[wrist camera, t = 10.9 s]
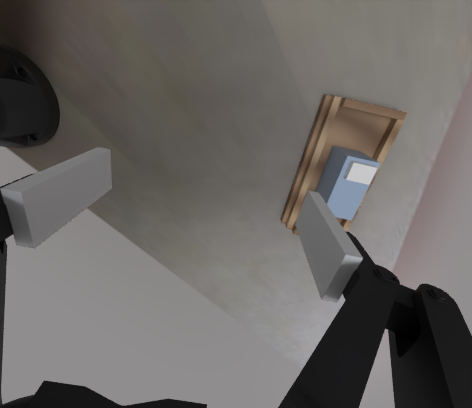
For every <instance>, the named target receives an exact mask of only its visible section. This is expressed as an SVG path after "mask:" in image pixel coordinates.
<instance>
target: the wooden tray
mask: <svg viewBox="0 0 472 408" xmlns="http://www.w3.org/2000/svg"><path fill="white" fill-rule="evenodd" d="M407 114H408V113H406V112H402V111H398V110H393V109H389V108H385V107H381V106H377V105H372V104H368V103H364V102H360V101H356V100H352V99H347V98H341V97H337V96H330V95H324V96H323V99H322V102H321V104H320V107H319V110H318V113H317V116H316V119H315V122H314V125H313V128H312V130H311V133H310V136H309V139H308V142H307V145H306V148H305V151H304V153H303V156H302V159H301V162H300V165H299V168H298V171H297V174H296V177H295V179H294V182H293V185H292V188H291V191H290V194H289V197H288V200H287V202H286V205H285V208H284V211H283V214H282V217H281V222H282V223H284V224H286V228H288V229H292V231H293V234H296V235H299V234H298V231H297V229H296V226H295V223H296V221H297V218H298V215H299V213H300V210H301V208H302V205H303V202H304V200H305V197H306V194H307V192H308V191H313V192H315V189H316V187H317V184H318V182H319V179H320V177H321V174H322V171H323V169H324V166H325V164H326V161H327V159H328V156H329V154H330V151H331V148H332V146H333V145H334V146H339V147H343V148H348V149H352V150H356V151H361V152H362V153H364V154H366V155H368V156H369V157H371V158H373V159H374V160H376V161H378V162H380V165H379V167H378V169H377V171H376V173H375V175H374V177H373V179H372V181H371V183H370V185H369V187H368V189H367V191H366V193H365V195H364V197H363V199H362V201H361V203H360V205H359V207H358V209H357V211H356V213H355V215H354V217H353V219H352V221H351V220H347V219H342V218H338V217H336V219H337V220H338V222H339V223H340V225H341V226H342V227H343V229H344V230H345V231H346V232H347V231H348V229H349V228H350V226H351V224H352V222H353V220H354V218H355V216H356V214H357V212H358V210H359V208H360V206H361V204H362V202H363V200H364V198H365V196H366V194H367V192H368V190H369V188H370V187H371V185H372V183H373V181H374V179H375V177H376V175H377V173H378V171H379V169H380V167H381V165H382V163H383V161H384V159H385V157H386V155H387V153H388V151H389V149H390V147H391V145H392V144H393V142H394V140H395V138H396V136H397V134H398V132H399V130H400V128H401V126H402V124H403V122H404V120H405V118H406V116H407Z"/></svg>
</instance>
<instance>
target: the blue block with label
mask: <svg viewBox="0 0 472 408" xmlns="http://www.w3.org/2000/svg"><path fill="white" fill-rule="evenodd" d="M379 165H380V162H378V161H376V160H374V159H373V158H371V157H369V156H368V155H366V154H364V153H362V152H361V151H356V150H352V149H348V148H343V147H339V146H334V145H333V146H332V148H331V151H330V154H329V156H328V159H327V161H326V164H325V166H324V169H323V171H322V174H321V177H320V179H319V182H318V184H317V187H316V189H315V192H318V193H320V195H321V196H322V198H323V199H324V201H325V202H326V204H327V205H328V207H329V208H330V210H331V211H332V213H333V214H334V216H335V217H338V218H342V219H347V220H351V221H352V219H353V217H354V215H355V213H356V211H357V209H358V207H359V205H360V203H361V201H362V199H363V197H364V195H365V193H366V191H367V189H368V187H369V185H370V183H371V181H372V179H373V177H374V175H375V173H376V171H377V169H378V167H379Z"/></svg>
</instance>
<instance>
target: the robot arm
mask: <svg viewBox="0 0 472 408" xmlns="http://www.w3.org/2000/svg"><path fill="white" fill-rule="evenodd" d="M58 122H59V109H58V103H57V100H56V97H55V94H54V91H53V89H52V87H51V85H50V83H49V82H48V80H47V79H46V77H45V76H44V74H43V73H42V72H41V71H40V69H39V68H38V67H37V66H36V65H35V64H34V63H33V62H32V61H31V60H30V59H28V58H27V57H26V56H24V55H23V54H22V53H20V52H18V51H17V50H15V49H13V48H10V47H8V46H5V45H1V44H0V146H3V147H14V148H26V147H31V146H35V145H39V144H42V143H45V142H46V141H48V140H49V139H50V138H51V137H52V136H53V135H54V133H55V131H56V129H57V126H58ZM111 189H112V176H111V155H110V149H105V148H101V147H97V148H95V149H92V150H90V151H87V152H85V153H83V154H80V155H78V156H76V157H73V158H71V159H69V160H66V161H64V162H61V163H59V164H57V165H54V166H52V167H50V168H47V169H45V170H42V171H40V172H38V173H35V174H31V175H28V176H25V177H23V178H21V179H20V180H19V179H18V180H16V181H13V182H12V183H8V184H6V185H4V186H1V187H0V408H207V404H200V403H194V402H187V401H180V400H173V399H164V400H158V401H152V402H145V403H139V404H134V405H127V406H121V405H119V404H117V403H115V402H113V401H111V400H109V399H107V398H105V397H103V396H102V395H100V394H98V393H96V392H94V391H93V390H91V389H89V388H87V387H84V386H78V385H71V384H63V383H57V382H51V381H44V382H43V383H42V385H41V386H40V387H39V389H38V391H37V392H36V393H35V395H31V396H27V397H23V398H19V399H16V400H13V401H11V402H8V403H5V404H2V399H1V377H2V376H1V375H2V353H3V329H4V307H5V306H4V305H5V284H6V261H7V245H6V241H5V239H6V238H8V237H9V236H11V235H12V234H13V235H14V238H15V242H16V245H18V246H24V247H29V248H36V247H37V246H38V245H40V244H41V243H42V242H44V241H45V240H46V239H47V238H49V237H50V236H51V235H52V234H54V233H55V232H56V231H58V230H59V229H60V228H62V227H63V226H64V225H65V224H67V223H68V222H69V221H71V220H72V219H73V218H74V217H76V216H77V215H78V214H80V213H81V212H82V211H84V210H85V209H86V208H87V207H89V206H90V205H91V204H93V203H94V202H95V201H96V200H98V199H99V198H100V197H102V196H103V195H104V194H105V193H107V192H108V191H109V190H111ZM295 226H296V229H297V231H298V234H299V237H300V240H301V243H302V246H303V248H304V251H305V254H306V257H307V260H308V263H309V266H310V268H311V271H312V274H313V277H314V280H315V283H316V285H317V288H318V291H319V294H320V297H321V300H326V301H331V302H338V300H339V298H340V297H341V295H342V293H343V295H344V298H345V300H346V301H345V302H344V304H343V305H342V307H341V309H340V310H339V312H338V313H337V315H336V317H335V318H334V320H333V321H332V323H331V325H330V326H329V328H328V329H327V331H326V333H325V334H324V336H323V337H322V339H321V341H320V342H319V344H318V345H317V347H316V349H315V350H314V352H313V353H312V355H311V357H310V358H309V360H308V361H307V363H306V365H305V366H304V368H303V369H302V371H301V373H300V374H299V376H298V377H297V379H296V381H295V382H294V384H293V385H292V387H291V388H290V390H289V391H288V393H287V395H286V396H285V398H284V399H283V401H282V402H281V404H280V406H279V407H278V408H359V405H360V402H361V399H362V396H363V393H364V390H365V387H366V384H367V381H368V378H369V375H370V371H371V369H372V366H373V363H374V360H375V357H376V354H377V351H378V348H379V345H380V342H381V339H382V336H383V333H384V330H385V328H386V329H388V333H389V345H390V356H391V367H392V378H393V391H394V401H395V408H472V336H471V333H470V331H469V329H468V327H467V325H466V323H465V320H464V318H463V316H462V314H461V312H460V309H459V307H458V305H457V304H456V302H455V301H454V299H452V298H451V297H450V296H449V295H448V294H447V293H446V292H444V291H443V290H441V289H439V288H437V287H435V286H432V285H429V284H421V285H419V287H418V288H417V289H416V291H415V290H413V289H410V288H407V287H405V286H403V285H400V282H399V280H398V279H397V277H396V276H395V275H394V274H393V273H392V272H390V271H389V270H387V269H386V268H384V267H382V266H379V265H375V263H374V262H373V261H372V259H371V258H370V257H369V255H368V254H367V252H366V251H365V250H364V248H363V247H362V245H361V244H360V243H359V241H358V240H357V238H356V237H354V236H353V235H352V234H351V233H349V232H346V231H345V230H344V229H343V227H342V226H341V225H340V223H339V222H338V220H337V219H336V217H335V216H334V214H333V213H332V211H331V210H330V208H329V207H328V205H327V204H326V202H325V201H324V199H323V198H322V196H321V195H320V193H318V192H313V191H308V192H307V194H306V197H305V200H304V202H303V205H302V208H301V210H300V213H299V215H298V218H297V221H296V223H295Z"/></svg>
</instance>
